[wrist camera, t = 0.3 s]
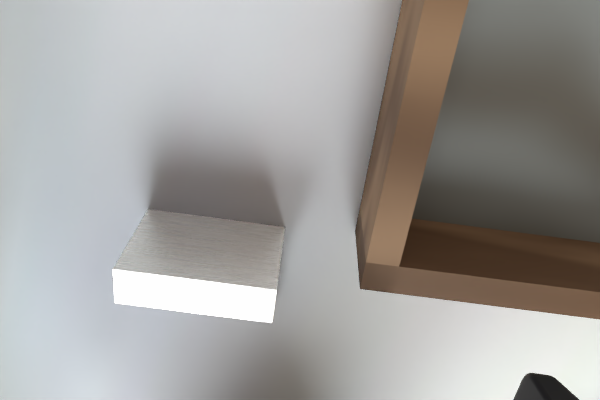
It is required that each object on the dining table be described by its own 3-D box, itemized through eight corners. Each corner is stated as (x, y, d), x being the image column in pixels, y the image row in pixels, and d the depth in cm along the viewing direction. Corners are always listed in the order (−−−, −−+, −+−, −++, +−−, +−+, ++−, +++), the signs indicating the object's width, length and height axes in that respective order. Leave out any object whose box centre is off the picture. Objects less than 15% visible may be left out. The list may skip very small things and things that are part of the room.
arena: (671, 271, 23) (731, 335, 20) (355, 230, 23) (360, 288, 20) (838, -21, 18) (965, -3, 14) (418, -79, 17) (441, -76, 14)
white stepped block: (285, 225, 23) (276, 289, 19) (275, 296, 25) (266, 368, 21) (149, 207, 23) (112, 268, 19) (150, 280, 25) (117, 349, 21)
